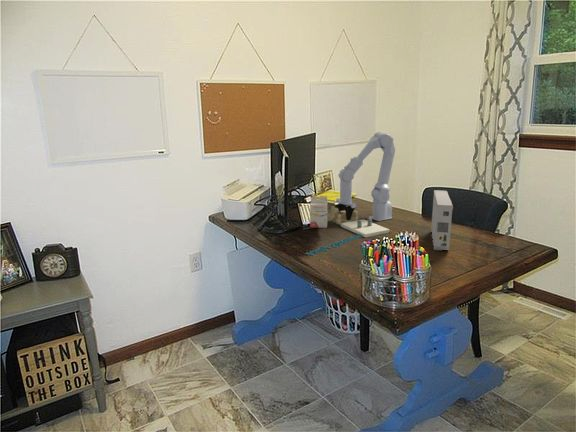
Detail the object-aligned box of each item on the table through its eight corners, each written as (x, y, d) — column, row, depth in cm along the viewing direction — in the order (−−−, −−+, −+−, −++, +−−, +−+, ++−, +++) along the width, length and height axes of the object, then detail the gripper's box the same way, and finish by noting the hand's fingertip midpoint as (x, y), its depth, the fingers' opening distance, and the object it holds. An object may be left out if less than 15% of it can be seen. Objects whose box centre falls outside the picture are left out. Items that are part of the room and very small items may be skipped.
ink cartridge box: (310, 227, 207) (309, 198, 203) (310, 224, 212) (310, 196, 208) (327, 227, 206) (327, 198, 202) (327, 224, 211) (327, 196, 207)
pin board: (363, 222, 214) (363, 212, 213) (389, 232, 197) (390, 222, 195) (340, 226, 208) (340, 216, 206) (365, 237, 191) (365, 227, 189)
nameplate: (302, 254, 173) (311, 257, 170) (302, 252, 173) (311, 255, 169) (359, 234, 196) (368, 236, 193) (359, 232, 196) (368, 235, 193)
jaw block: (332, 221, 216) (333, 212, 214) (352, 218, 221) (352, 209, 219) (338, 224, 211) (338, 214, 210) (357, 220, 216) (358, 211, 215)
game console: (444, 232, 195) (447, 190, 189) (449, 253, 170) (453, 205, 164) (431, 231, 196) (434, 190, 191) (434, 252, 171) (437, 204, 166)
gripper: (331, 191, 216) (331, 216, 220) (347, 196, 204) (347, 223, 208) (342, 189, 219) (342, 214, 223) (359, 194, 207) (358, 221, 211)
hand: (345, 218), depth 216 cm, fingers closed on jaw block, 5 cm apart
